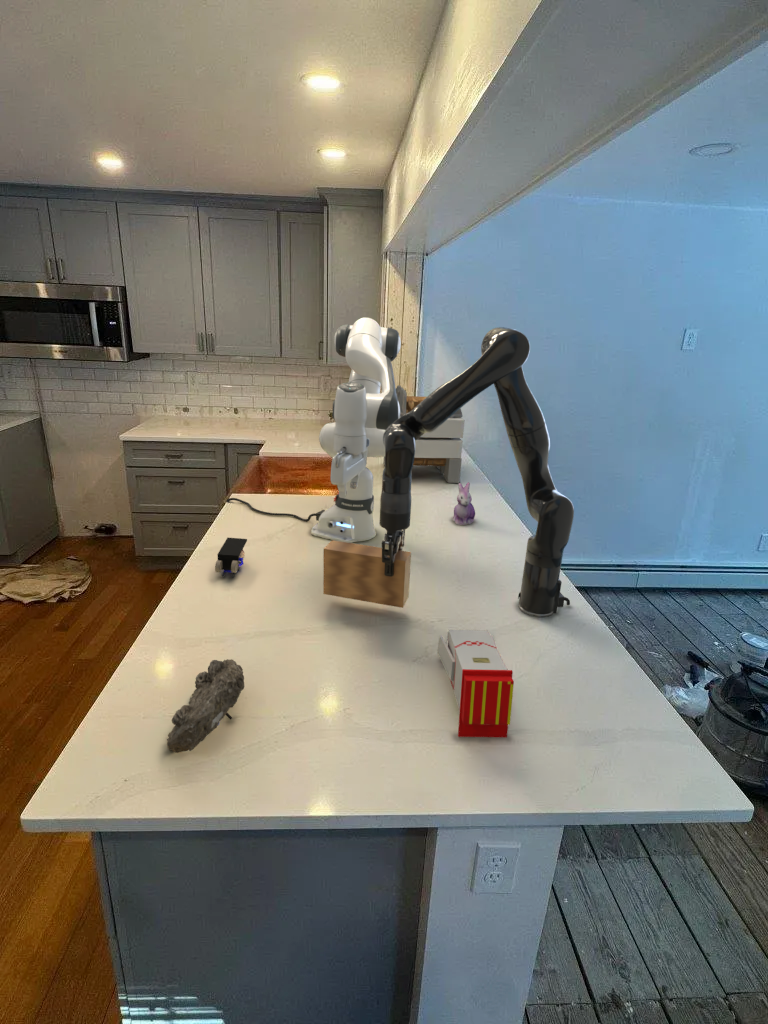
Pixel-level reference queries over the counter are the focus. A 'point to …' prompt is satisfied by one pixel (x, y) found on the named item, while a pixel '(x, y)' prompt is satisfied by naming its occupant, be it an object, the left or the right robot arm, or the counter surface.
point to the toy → (478, 682)
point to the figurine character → (230, 556)
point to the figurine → (464, 506)
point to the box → (365, 574)
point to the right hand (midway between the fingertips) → (392, 570)
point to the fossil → (206, 705)
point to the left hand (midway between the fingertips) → (348, 492)
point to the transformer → (437, 441)
